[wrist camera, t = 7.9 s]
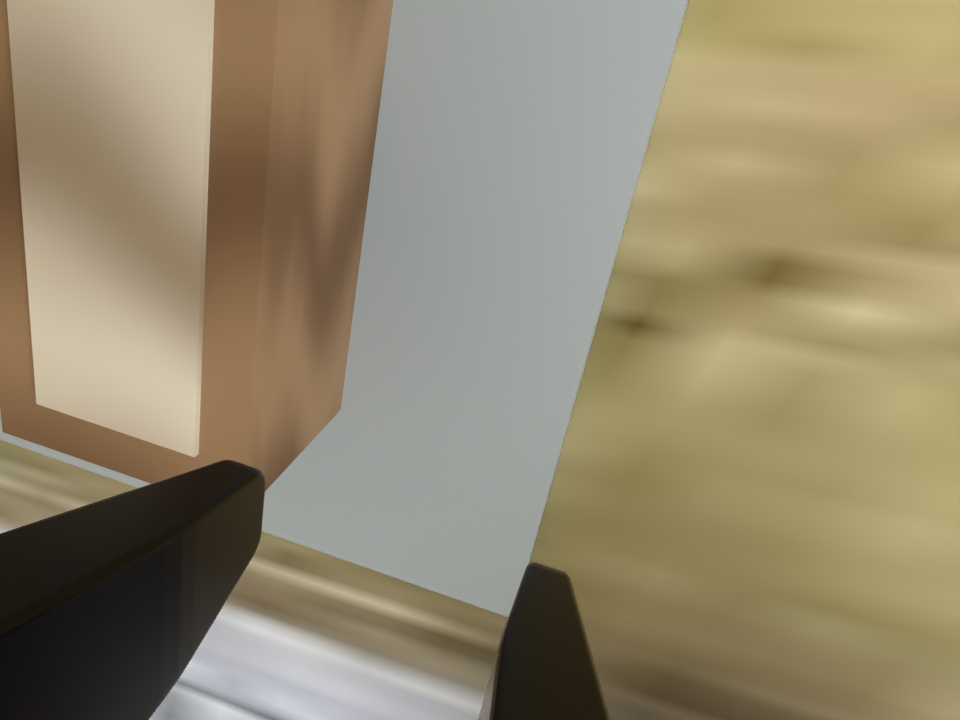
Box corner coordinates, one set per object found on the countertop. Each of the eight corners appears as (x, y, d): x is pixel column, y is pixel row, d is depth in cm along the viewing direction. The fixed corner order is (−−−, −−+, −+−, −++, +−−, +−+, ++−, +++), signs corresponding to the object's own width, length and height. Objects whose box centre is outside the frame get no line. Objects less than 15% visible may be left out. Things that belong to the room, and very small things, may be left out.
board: (518, 600, 23) (512, 618, 23) (-5, 419, 26) (-25, 431, 26) (789, -357, 14) (793, -377, 13) (-96, -484, 16) (-133, -506, 16)
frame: (340, 409, 21) (239, 519, 17) (143, 346, 22) (-3, 435, 18) (406, -97, 16) (283, -135, 11) (142, -151, 17) (-69, -207, 12)
